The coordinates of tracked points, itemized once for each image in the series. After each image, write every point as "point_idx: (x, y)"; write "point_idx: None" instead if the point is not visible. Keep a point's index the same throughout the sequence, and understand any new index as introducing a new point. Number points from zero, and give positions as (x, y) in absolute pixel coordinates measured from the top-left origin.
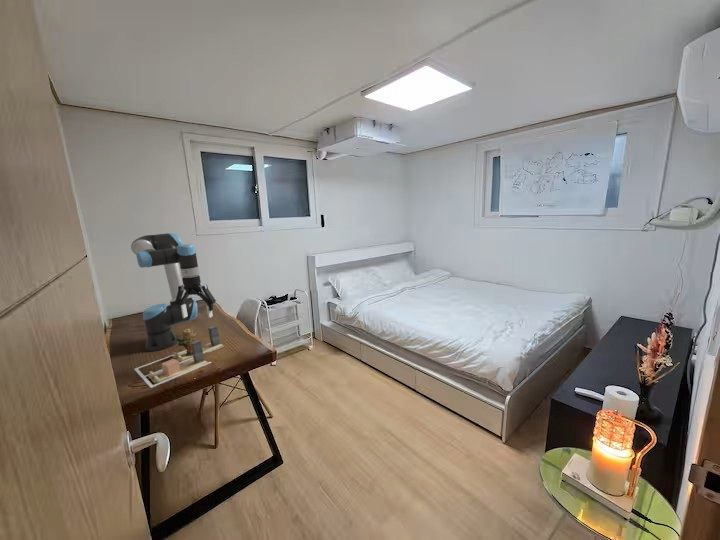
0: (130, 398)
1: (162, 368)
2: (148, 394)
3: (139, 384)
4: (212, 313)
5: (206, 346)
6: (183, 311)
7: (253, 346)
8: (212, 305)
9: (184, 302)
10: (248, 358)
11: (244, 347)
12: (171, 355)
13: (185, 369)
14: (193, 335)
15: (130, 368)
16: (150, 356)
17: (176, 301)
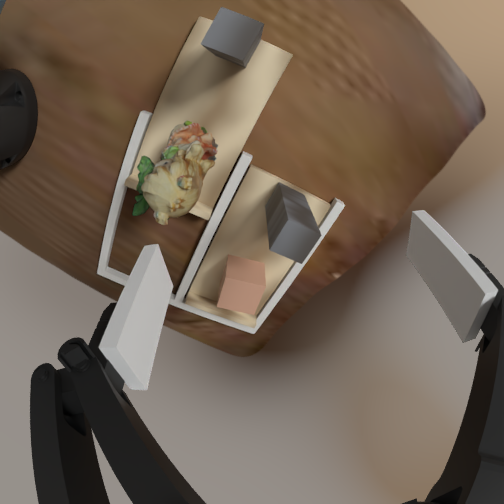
0: (233, 350)
1: (218, 294)
2: (263, 338)
3: (193, 315)
4: (436, 223)
5: (204, 74)
6: (158, 329)
7: (423, 57)
8: (500, 287)
9: (102, 370)
10: (446, 155)
11: (392, 61)
12: (119, 181)
13: (277, 255)
14: (204, 171)
15: (72, 258)
16: (45, 189)
17: (79, 429)
